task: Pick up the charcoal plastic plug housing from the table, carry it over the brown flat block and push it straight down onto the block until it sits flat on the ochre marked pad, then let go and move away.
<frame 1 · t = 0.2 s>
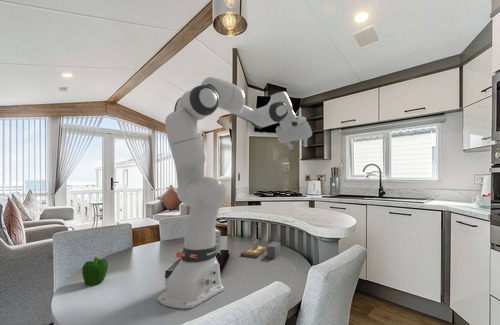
hand: (298, 147, 124), 54 cm above the table, tool tilted 30°, fingers open, 8 cm apart
supplement box: (211, 255, 122), on the table
plug housing: (274, 255, 119), on the table
bell pepper: (94, 283, 91), on the table
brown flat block: (255, 252, 125), on the table
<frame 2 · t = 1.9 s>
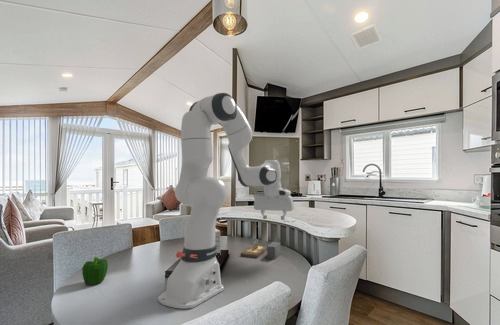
hand: (273, 219, 120), 18 cm above the table, tool pointing down, fingers open, 8 cm apart
nothing on the table moved.
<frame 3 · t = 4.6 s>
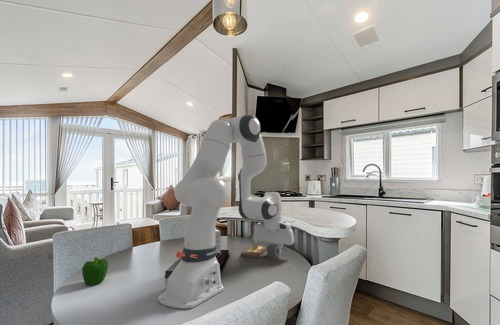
hand: (274, 252, 119), 2 cm above the table, tool pointing down, fingers closed on plug housing, 4 cm apart
plug housing: (274, 255, 119), on the table, touching gripper
everything else where it was.
when the fingers open (3 cm above the table, at t = 9.5 s): plug housing stays where it is, resting on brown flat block.
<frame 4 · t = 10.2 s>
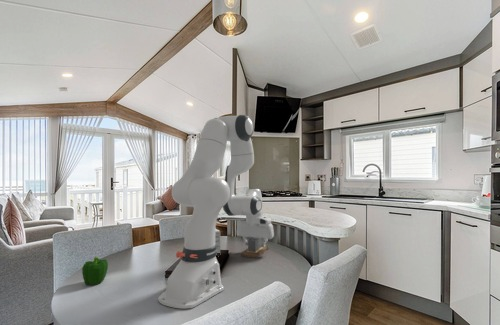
hand: (255, 246, 125), 3 cm above the table, tool pointing down, fingers open, 8 cm apart
plug housing: (255, 249, 125), point 2 cm above the table, touching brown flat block
everything else where it was.
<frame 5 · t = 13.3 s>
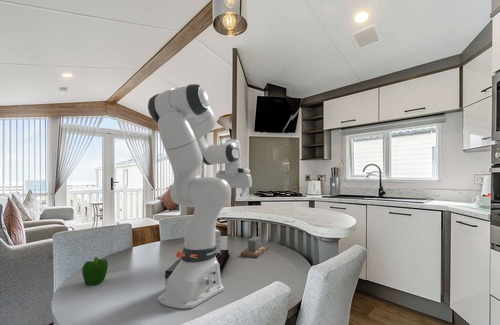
hand: (233, 196, 125), 29 cm above the table, tool pointing down, fingers open, 8 cm apart
nothing on the table moved.
at the end: plug housing 0.1 cm off-centre on the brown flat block, point 1.6 cm above the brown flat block's base; plug housing tilted 0°; the gripper is holding nothing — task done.
